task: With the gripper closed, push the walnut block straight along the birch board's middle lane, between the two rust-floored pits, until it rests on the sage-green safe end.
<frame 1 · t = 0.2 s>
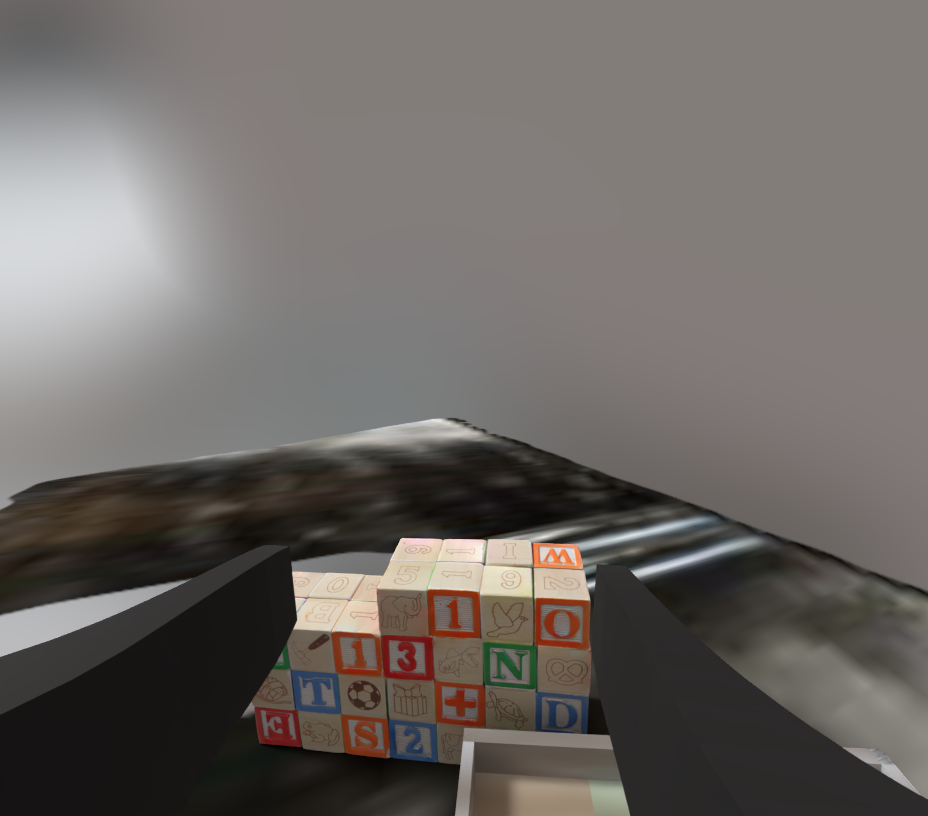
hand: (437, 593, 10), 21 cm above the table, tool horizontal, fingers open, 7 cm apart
stack of blocks: (424, 723, 32), on the table
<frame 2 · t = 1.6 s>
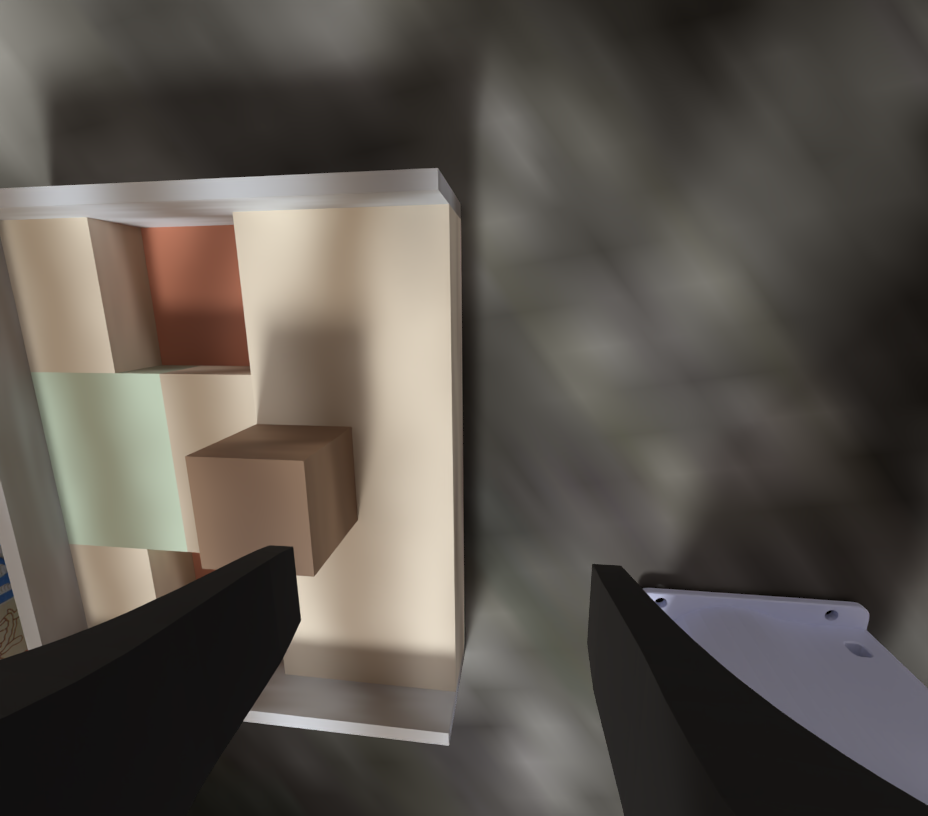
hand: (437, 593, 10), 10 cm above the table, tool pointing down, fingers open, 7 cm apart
stack of blocks: (68, 663, 27), on the table
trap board: (277, 447, 22), on the table
walnut block: (307, 472, 18), point 3 cm above the table, touching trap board
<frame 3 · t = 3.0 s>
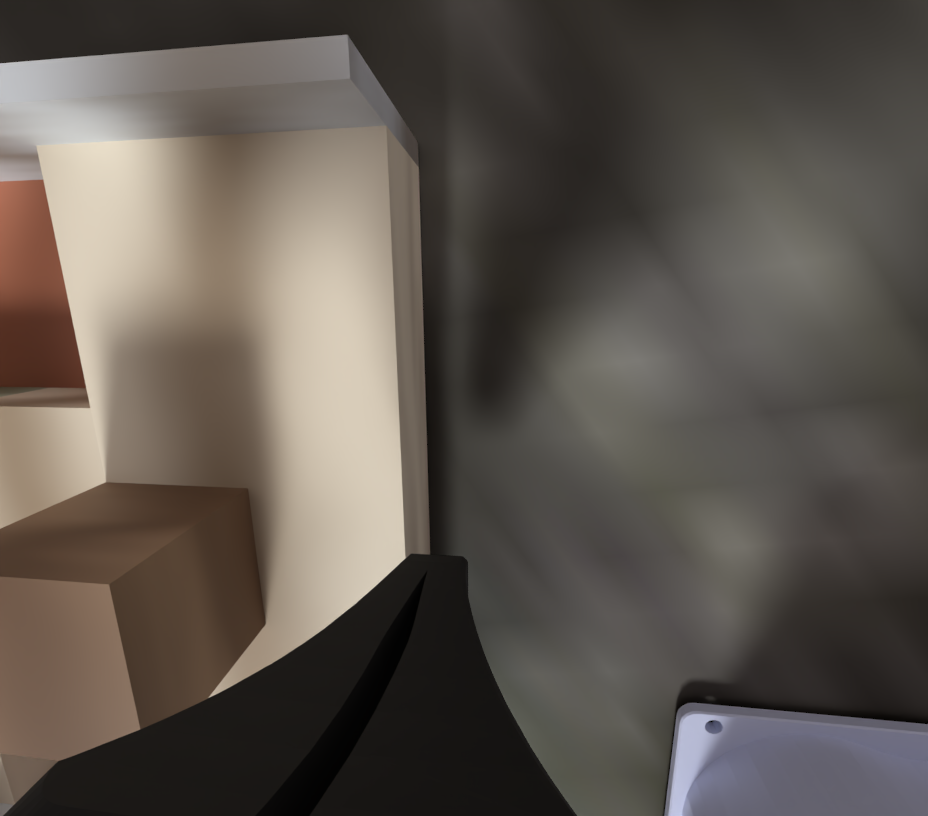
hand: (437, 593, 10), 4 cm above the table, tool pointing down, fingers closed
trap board: (168, 501, 15), on the table
walnut block: (187, 554, 12), point 3 cm above the table, touching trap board
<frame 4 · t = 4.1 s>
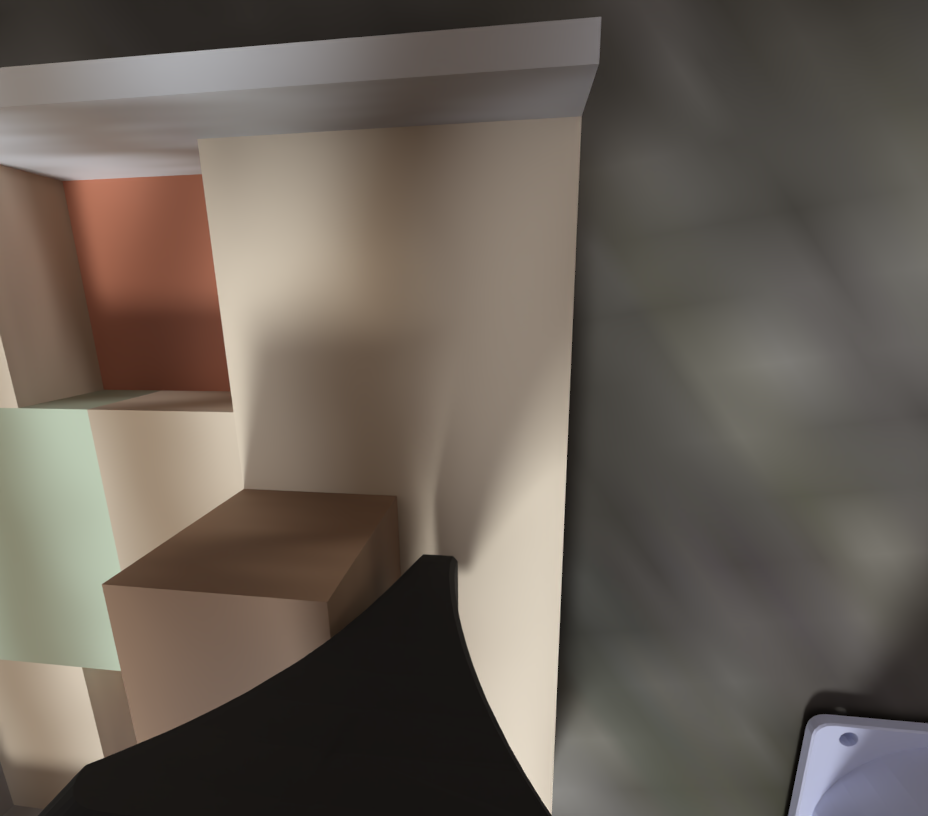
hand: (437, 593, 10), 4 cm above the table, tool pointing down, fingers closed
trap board: (276, 507, 15), on the table
walnut block: (325, 564, 12), point 3 cm above the table, touching gripper, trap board
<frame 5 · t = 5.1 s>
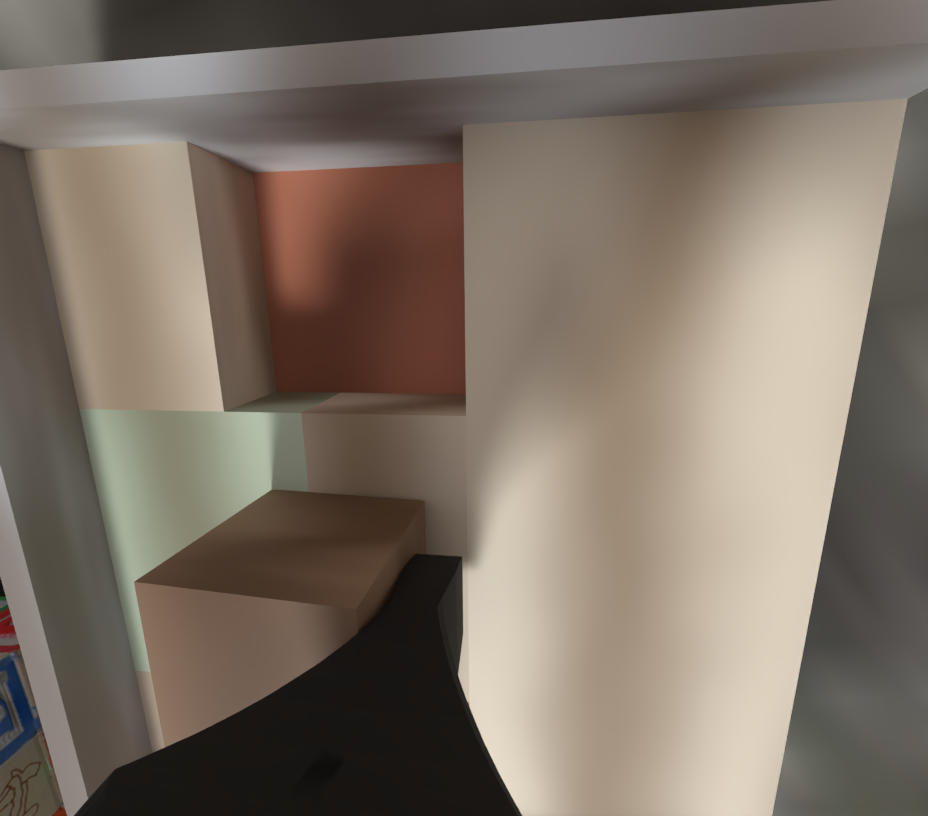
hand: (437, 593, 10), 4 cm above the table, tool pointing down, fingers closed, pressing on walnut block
stack of blocks: (107, 800, 20), on the table
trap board: (447, 514, 14), on the table
walnut block: (350, 567, 12), point 3 cm above the table, touching gripper, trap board
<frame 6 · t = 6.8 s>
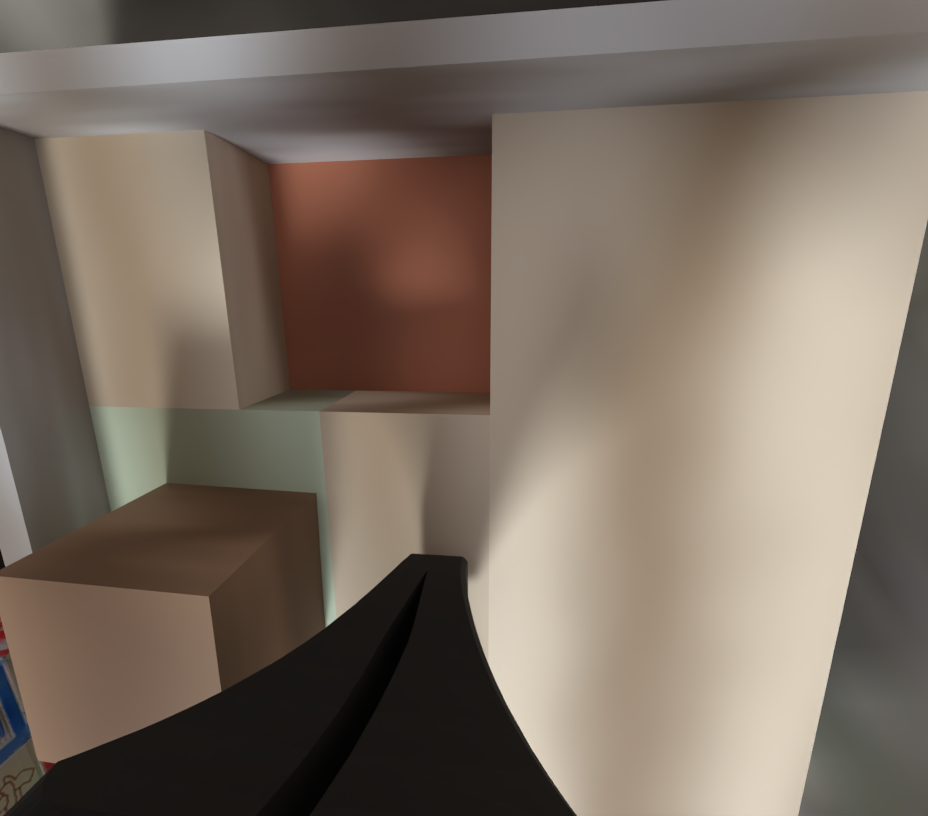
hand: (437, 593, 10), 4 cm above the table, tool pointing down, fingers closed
stack of blocks: (109, 807, 20), on the table
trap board: (463, 515, 14), on the table
walnut block: (247, 559, 12), point 3 cm above the table, touching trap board
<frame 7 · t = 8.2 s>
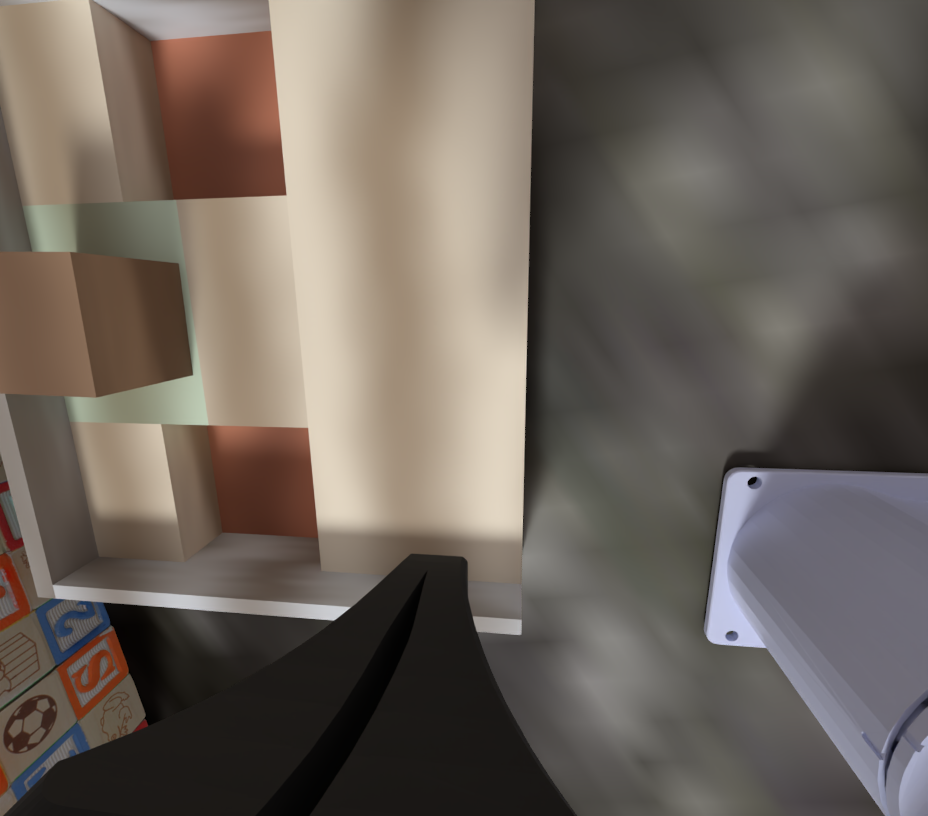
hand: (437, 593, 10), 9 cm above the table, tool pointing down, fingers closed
stack of blocks: (61, 599, 25), on the table
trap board: (309, 315, 19), on the table
walnut block: (136, 319, 17), point 3 cm above the table, touching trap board
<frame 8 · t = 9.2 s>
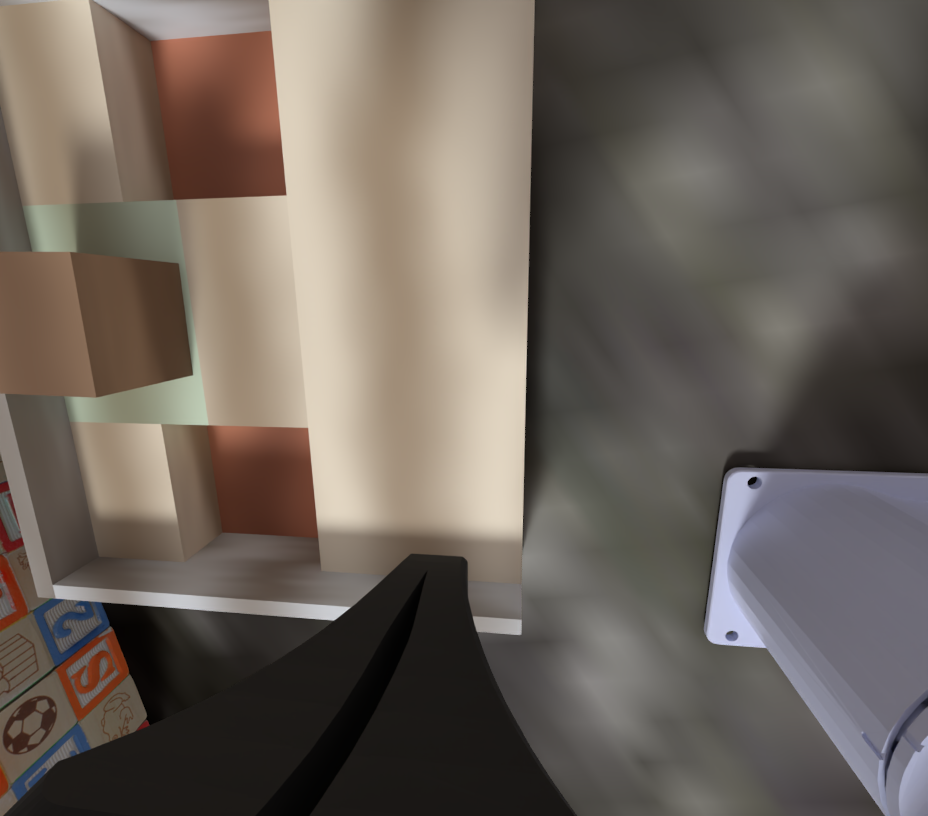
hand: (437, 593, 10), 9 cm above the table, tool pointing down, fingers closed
stack of blocks: (60, 601, 25), on the table
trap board: (309, 315, 19), on the table
walnut block: (136, 319, 17), point 3 cm above the table, touching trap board
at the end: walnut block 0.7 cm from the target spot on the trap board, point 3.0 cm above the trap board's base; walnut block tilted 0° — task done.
